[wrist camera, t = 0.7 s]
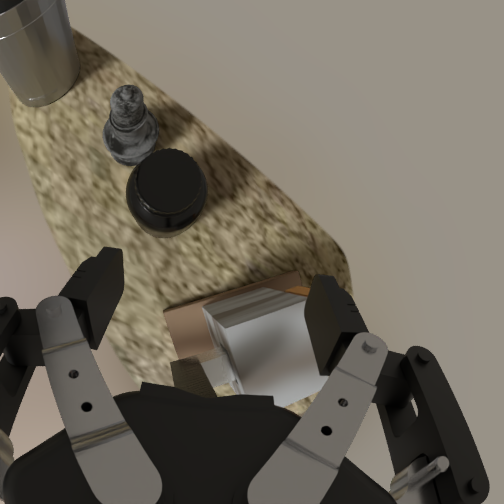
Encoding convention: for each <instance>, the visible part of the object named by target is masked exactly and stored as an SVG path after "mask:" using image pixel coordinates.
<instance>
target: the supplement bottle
mask: <svg viewBox="0 0 504 504" xmlns="http://www.w3.org/2000/svg"><path fill="white" fill-rule="evenodd" d="M207 196H208V186H207V181H206V178H205V175H204V173H203V171H202V170H201V168H200V167H199V166H198V164H197V162H195V161H194V160H193V158H192V157H190V156H189V155H188V154H187V153H184V152H183V151H181V150H177V149H171V148H168V149H161V150H157V151H155V152H154V153H151V154H150V155H149V156H147V157H145V159H143V160H142V161H141V162H139V163H138V164H137V166H136V167H135V168H134V169H133V171H132V172H131V174H130V176H129V179H128V182H127V186H126V200H127V204H128V207H129V210H130V212H131V214H132V216H133V217H134V219H135V220H136V222H137V223H138V225H139V226H140V227H141V228H142V229H143V230H144V231H145V232H146V233H148V234H149V235H152V236H154V237H158V238H171V237H175V236H177V235H179V234H181V233H183V232H184V231H185V230H186V229H187V228H189V227H190V226H191V225H192V224H193V223H194V222H195V221H196V220H197V219H198V217H199V216H200V215H201V213H202V211H203V209H204V207H205V205H206V201H207Z"/></svg>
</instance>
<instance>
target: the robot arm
mask: <svg viewBox="0 0 504 504" xmlns="http://www.w3.org/2000/svg"><path fill="white" fill-rule="evenodd" d="M79 70H80V62H79V58H78V55H77V51H76V47H75V42H74V39H73V34H72V30H71V26H70V22H69V17H68V13H67V8H66V4H65V0H0V73H1V74H2V76H3V77H4V79H5V80H6V82H7V83H8V85H9V86H10V88H11V89H12V90H13V92H14V93H15V95H16V96H17V98H18V99H19V100H20V101H21V102H22V103H23V104H24V105H26V106H30V107H40V106H44V105H47V104H50V103H52V102H54V101H55V100H57V99H59V98H60V97H61V96H63V95H64V94H65V93H66V92H67V91H68V90H69V89H70V88H71V87H72V85H73V84H74V82H75V81H76V79H77V77H78V74H79ZM123 290H124V268H123V252H122V249H119V248H111V247H103V248H102V250H101V251H100V252H99V254H98V255H97V256H96V257H90V258H88V259H87V260H85V261H84V262H82V263H81V265H80V266H79V267H78V269H77V271H75V273H74V274H73V275H72V277H71V278H70V279H69V281H68V282H67V283H66V285H65V287H64V288H63V289H62V290H61V292H60V293H59V295H58V296H51V297H48V298H46V299H44V300H42V301H41V302H40V303H39V304H38V305H37V307H36V309H19V308H18V305H17V303H16V301H15V300H14V299H13V298H10V297H1V298H0V356H1V354H2V353H4V356H3V357H2V359H1V361H0V500H1V501H3V502H5V504H481V503H482V502H484V500H485V499H486V498H487V496H488V493H489V480H488V477H487V474H486V471H485V469H484V466H483V463H482V460H481V458H480V455H479V452H478V450H477V447H476V444H475V442H474V439H473V437H472V435H471V432H470V430H469V427H468V425H467V423H466V420H465V418H464V416H463V413H462V411H461V409H460V407H459V405H458V402H457V400H456V398H455V396H454V394H453V392H452V390H451V388H450V385H449V383H448V381H447V379H446V377H445V375H444V373H443V372H442V369H441V367H440V366H439V364H438V362H437V360H436V358H435V356H434V355H433V354H432V353H431V352H430V351H429V350H427V349H425V348H423V347H420V346H412V347H410V348H409V349H408V351H407V352H406V354H405V355H404V354H400V353H396V352H392V351H389V350H388V347H387V345H386V343H385V342H384V341H383V340H382V339H381V338H379V337H378V336H376V335H374V334H371V333H369V331H368V329H367V327H366V325H365V323H364V321H363V319H362V317H361V315H360V313H359V310H358V308H357V307H356V306H355V305H356V304H355V302H354V300H353V298H352V296H351V295H350V294H349V293H348V292H346V291H345V290H344V289H342V288H339V286H338V284H337V281H336V279H335V277H334V276H328V275H320V274H316V275H315V276H314V279H313V282H312V285H311V288H310V291H309V294H308V297H307V300H306V303H305V307H304V318H305V322H306V326H307V329H308V333H309V337H310V340H311V344H312V348H313V352H314V355H315V359H316V363H317V367H318V371H319V375H320V376H329V378H328V379H327V381H326V382H325V384H324V386H323V387H322V389H321V390H320V392H319V393H318V395H317V396H316V398H315V399H314V401H313V402H312V403H311V405H310V406H309V408H308V409H307V411H306V412H305V414H304V415H303V416H302V417H300V416H299V415H297V414H295V413H294V412H292V411H290V410H288V409H286V408H283V407H280V406H276V405H274V397H273V396H268V395H248V394H239V395H231V396H223V397H215V398H205V397H202V396H199V395H196V394H193V393H190V392H187V391H184V390H181V389H178V388H175V387H171V386H164V385H158V384H152V383H146V382H142V385H141V389H140V391H132V392H126V393H122V394H119V395H116V396H114V397H112V395H111V393H110V391H109V389H108V387H107V385H106V383H105V381H104V379H103V377H102V374H101V372H100V370H99V368H98V365H97V363H96V361H95V359H94V356H93V354H92V352H91V349H94V350H97V349H98V347H99V345H100V342H101V340H102V338H103V335H104V333H105V331H106V329H107V326H108V324H109V322H110V320H111V318H112V315H113V313H114V311H115V309H116V307H117V305H118V303H119V300H120V298H121V296H122V294H123ZM36 366H46V370H47V374H48V377H49V381H50V384H51V388H52V390H53V394H54V397H55V400H56V403H57V406H58V409H59V412H60V415H61V418H62V420H63V423H64V425H65V428H64V429H63V430H61V431H60V432H58V433H57V434H55V435H54V436H52V437H51V438H49V439H47V440H46V441H44V442H43V443H41V444H40V445H38V446H37V447H35V448H34V449H32V450H30V451H29V452H27V453H25V454H24V455H22V456H21V457H19V458H18V459H16V460H15V461H14V457H13V453H14V452H13V451H14V449H13V445H12V442H11V440H10V438H9V435H10V432H11V429H12V426H13V423H14V421H15V417H16V414H17V412H18V409H19V407H20V404H21V402H22V399H23V396H24V394H25V391H26V389H27V387H28V384H29V381H30V379H31V377H32V375H33V372H34V370H35V368H36ZM413 398H414V400H415V402H416V405H417V408H418V416H416V414H415V411H414V408H413V406H412V403H411V400H412V399H413ZM371 402H372V403H376V405H377V408H378V412H379V415H380V419H381V422H382V426H383V429H384V433H385V437H386V440H387V444H388V448H389V452H390V456H391V460H392V464H393V468H394V472H395V476H394V478H393V479H392V481H391V484H390V491H389V493H388V492H387V491H386V490H385V489H384V488H382V487H381V486H380V485H379V484H377V483H376V482H375V481H374V480H372V479H371V478H370V477H369V476H368V475H366V474H365V473H364V472H363V471H362V470H360V469H359V468H358V467H357V466H356V465H355V464H353V463H352V462H351V461H350V460H349V459H347V458H346V457H345V455H346V453H347V451H348V449H349V447H350V445H351V443H352V441H353V439H354V437H355V435H356V433H357V431H358V429H359V427H360V425H361V423H362V421H363V419H364V417H365V414H366V412H367V410H368V408H369V406H370V403H371Z"/></svg>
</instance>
